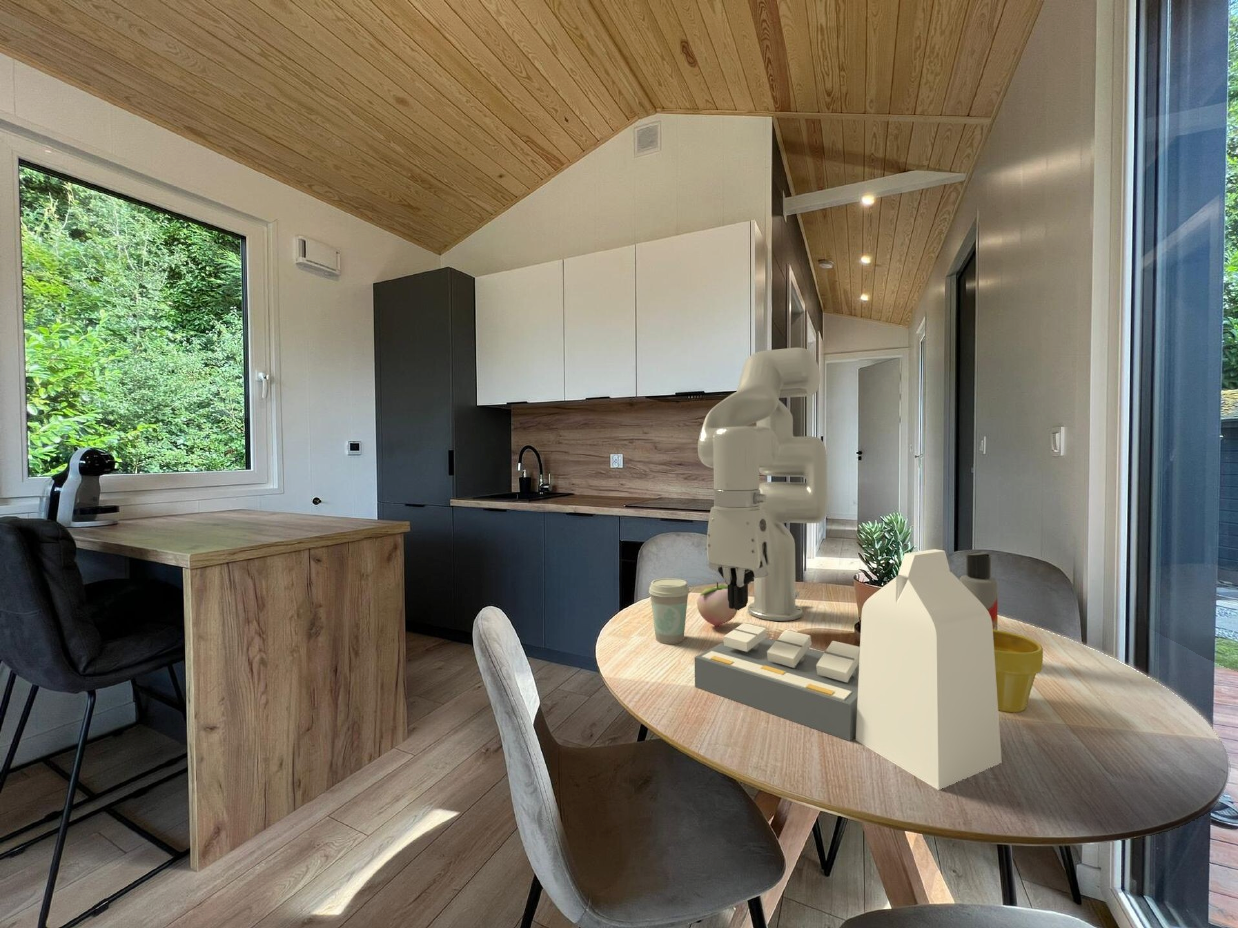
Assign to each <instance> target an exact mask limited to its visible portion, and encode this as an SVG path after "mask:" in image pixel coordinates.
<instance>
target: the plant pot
mask: <svg viewBox="0 0 1238 928" xmlns="http://www.w3.org/2000/svg"><path fill="white" fill-rule="evenodd" d="M993 641H994V656H995V671H996V685H997V700H998V712H999V711H1000V712H1006V713H1019V712H1020V713H1021V712H1023V711H1025V709H1026V708H1027V705H1028V703H1029V698H1030V694H1031V692H1032V688H1033V686H1034V680H1035V678H1036V675H1037V674H1038V673H1040V672H1042V670H1043V663H1044V662H1043V660H1044V659H1043V658H1044V649H1043V646H1042V645H1041V644H1040V643H1039V642H1037V641H1036V640H1034V639H1032V638H1030V637H1028V636H1024V635H1022V634H1017V633H1014V632H1009V631H1005V630H1004V631H1003V630H999V629H998V630H993Z"/></svg>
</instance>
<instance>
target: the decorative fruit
mask: <svg viewBox="0 0 1238 928" xmlns="http://www.w3.org/2000/svg"><path fill="white" fill-rule="evenodd" d="M696 606H697V611H698V612H699V614H700V616H701V617H702V618H703V620H705V621H706V622H707V623H709V624H710V625H712V626H714V627H717V628H719V627H720V626H722V625H723V624H726V623H728V622H730V621H731V620H732V619H734V618H735V616H737V613H738V610H735V609H730V608H729V601H728V585H726V584H725V585H723V584H720V585H719V582H718V581H717V582H716V586H715V587H714V586H712V587H710V586H709V587H706V588H704V589H703V590H702V591H701V593H700V594H699V595H698V598H697V601H696Z"/></svg>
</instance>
